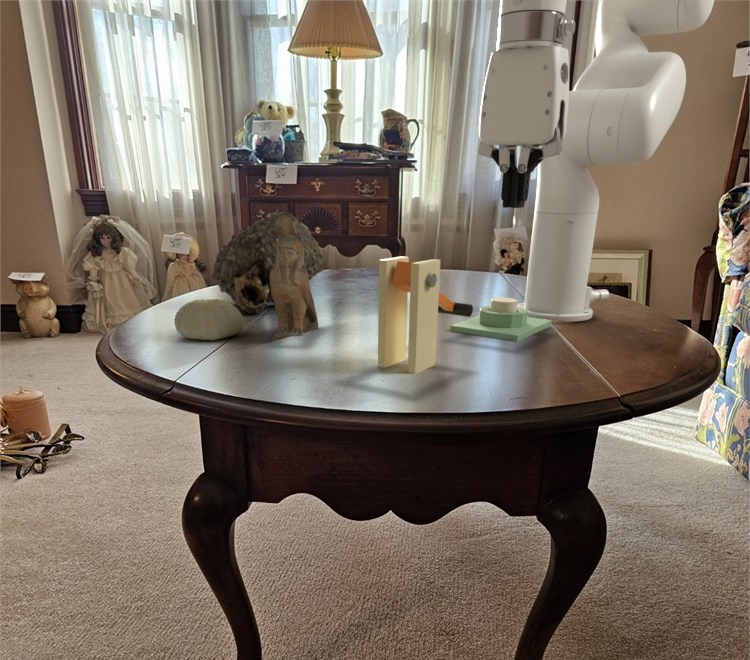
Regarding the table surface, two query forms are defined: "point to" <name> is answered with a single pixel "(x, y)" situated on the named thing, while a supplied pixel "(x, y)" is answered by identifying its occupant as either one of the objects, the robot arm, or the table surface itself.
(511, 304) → the button
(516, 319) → the button block
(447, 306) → the lever
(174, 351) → the table surface
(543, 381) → the table surface
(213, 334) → the sea urchin shell
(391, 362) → the bracket
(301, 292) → the brown carved statuette
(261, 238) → the rock
